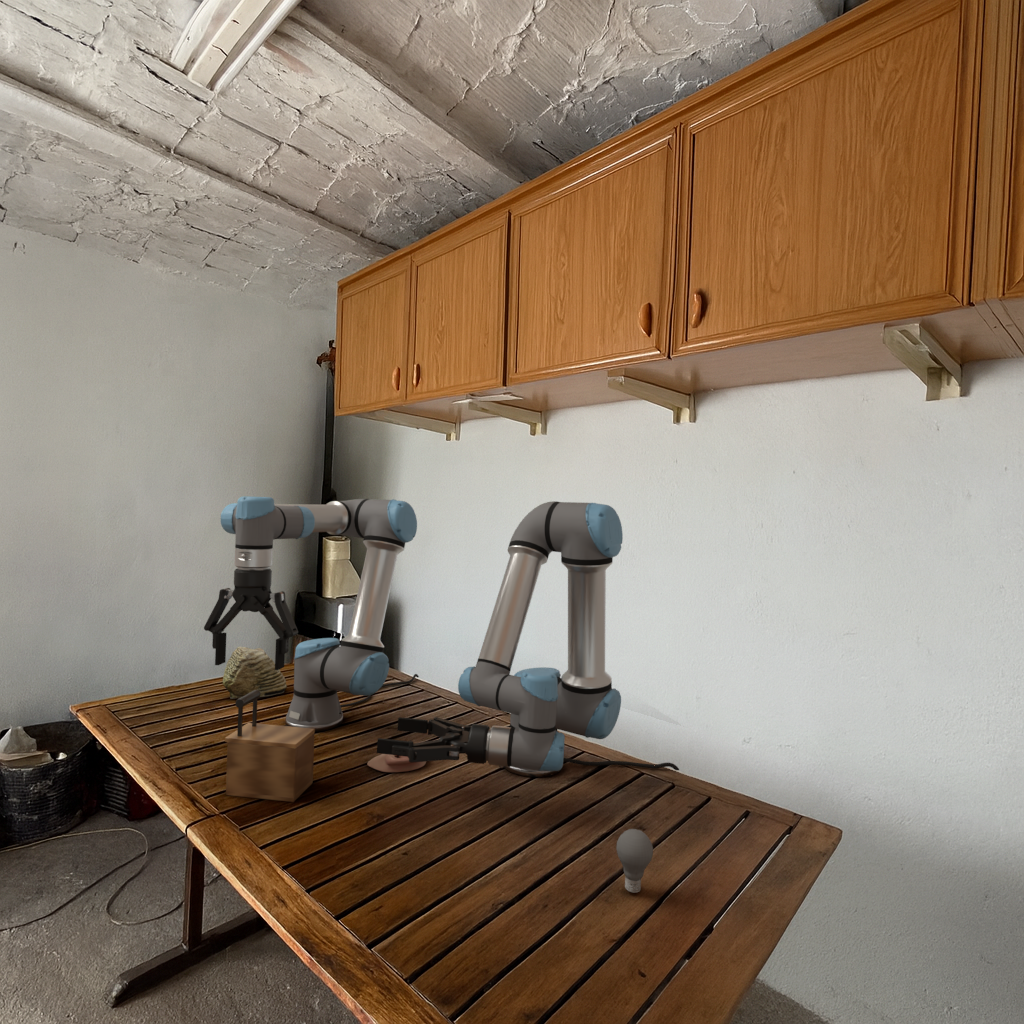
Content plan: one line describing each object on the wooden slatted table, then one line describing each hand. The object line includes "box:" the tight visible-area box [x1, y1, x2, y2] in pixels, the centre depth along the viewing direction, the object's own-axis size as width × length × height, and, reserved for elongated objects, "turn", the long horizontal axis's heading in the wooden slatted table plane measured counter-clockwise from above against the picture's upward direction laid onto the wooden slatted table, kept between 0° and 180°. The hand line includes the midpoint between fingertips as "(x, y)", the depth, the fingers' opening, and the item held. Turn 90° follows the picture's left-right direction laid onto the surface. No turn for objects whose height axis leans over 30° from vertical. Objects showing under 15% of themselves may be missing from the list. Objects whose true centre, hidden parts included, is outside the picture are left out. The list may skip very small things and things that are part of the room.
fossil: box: [222, 646, 288, 699], centre depth 198 cm, size 9×18×15 cm, turn 132°
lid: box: [224, 690, 316, 748], centre depth 136 cm, size 16×9×9 cm, turn 83°
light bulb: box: [615, 828, 654, 894], centre depth 106 cm, size 6×6×10 cm
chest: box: [225, 732, 316, 803], centre depth 136 cm, size 15×9×11 cm, turn 83°
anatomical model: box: [366, 741, 427, 773], centre depth 152 cm, size 13×4×12 cm
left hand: (249, 666), depth 137 cm, fingers open, 13 cm apart
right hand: (388, 734), depth 132 cm, fingers open, 13 cm apart
